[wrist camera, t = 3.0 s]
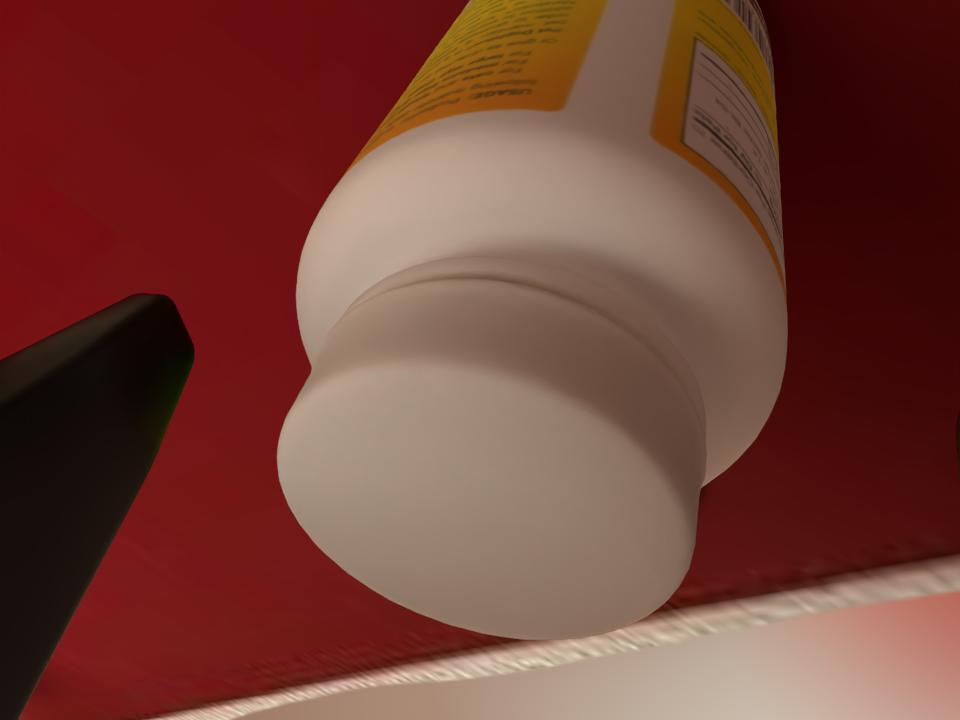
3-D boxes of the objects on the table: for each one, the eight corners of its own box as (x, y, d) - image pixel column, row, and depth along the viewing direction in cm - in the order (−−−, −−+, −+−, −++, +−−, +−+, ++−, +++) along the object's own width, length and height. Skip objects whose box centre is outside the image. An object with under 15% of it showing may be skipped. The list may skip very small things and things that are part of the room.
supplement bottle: (431, 142, 17) (173, 556, 9) (523, -155, 13) (204, 155, 5) (679, 248, 17) (620, 737, 9) (845, -11, 13) (963, 477, 6)
